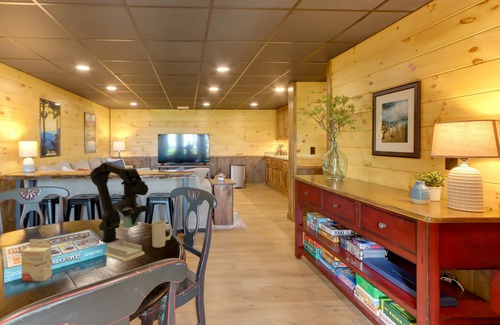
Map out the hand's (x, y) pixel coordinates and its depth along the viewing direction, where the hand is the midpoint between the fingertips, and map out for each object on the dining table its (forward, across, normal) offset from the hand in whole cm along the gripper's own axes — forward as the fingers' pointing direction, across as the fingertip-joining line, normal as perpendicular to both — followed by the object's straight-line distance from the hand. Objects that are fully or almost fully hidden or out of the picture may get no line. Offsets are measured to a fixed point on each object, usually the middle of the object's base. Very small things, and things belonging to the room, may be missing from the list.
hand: (130, 224), depth 155 cm
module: (+1, 0, 0) cm, 1 cm away
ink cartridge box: (+11, +1, -44) cm, 45 cm away
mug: (+12, +13, +9) cm, 19 cm away
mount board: (+11, +8, -10) cm, 17 cm away
